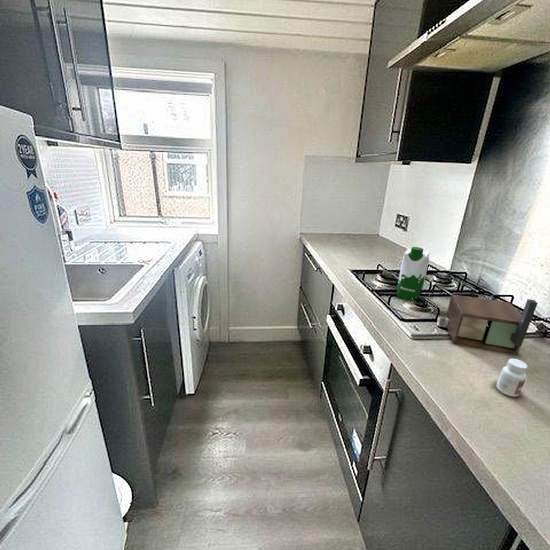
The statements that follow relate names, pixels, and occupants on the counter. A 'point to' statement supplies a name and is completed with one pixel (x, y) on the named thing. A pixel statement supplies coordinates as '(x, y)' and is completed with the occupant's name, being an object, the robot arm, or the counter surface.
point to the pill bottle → (512, 377)
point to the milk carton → (412, 273)
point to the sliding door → (511, 329)
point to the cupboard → (479, 321)
